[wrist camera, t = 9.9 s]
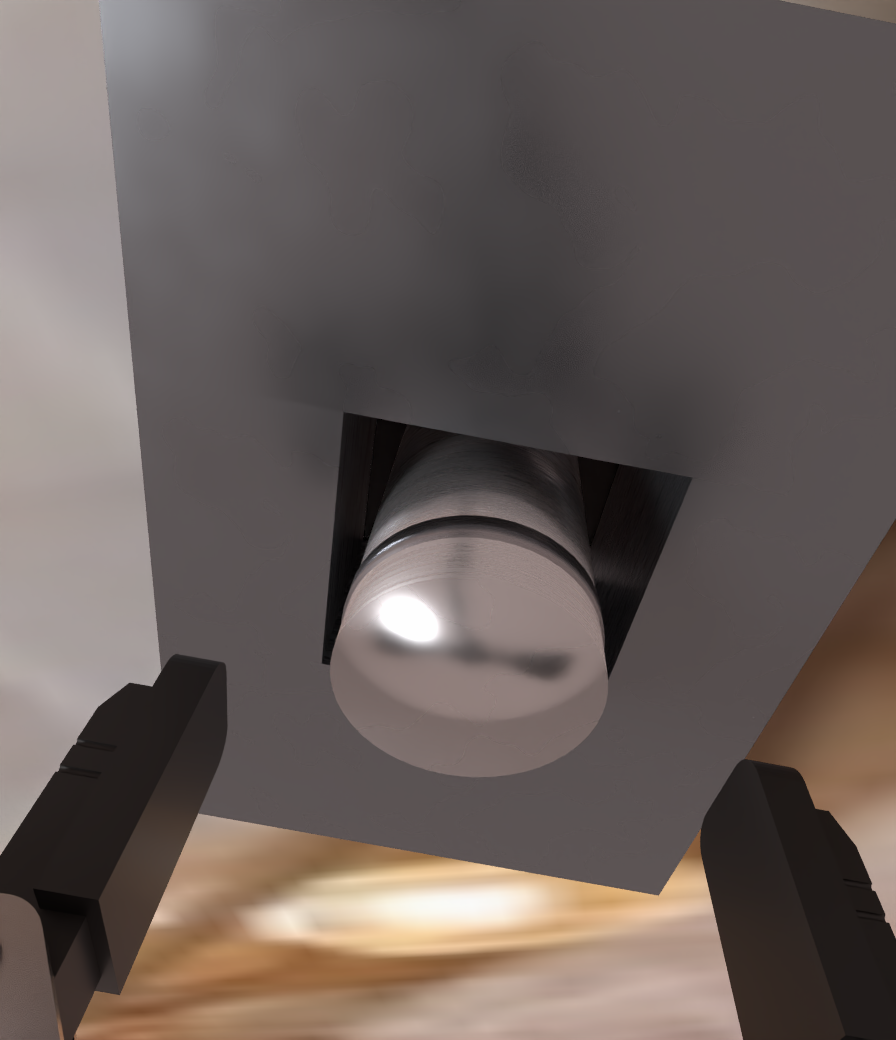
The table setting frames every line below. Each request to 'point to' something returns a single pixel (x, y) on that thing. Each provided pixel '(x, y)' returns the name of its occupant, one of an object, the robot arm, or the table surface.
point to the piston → (474, 611)
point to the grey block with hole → (509, 365)
